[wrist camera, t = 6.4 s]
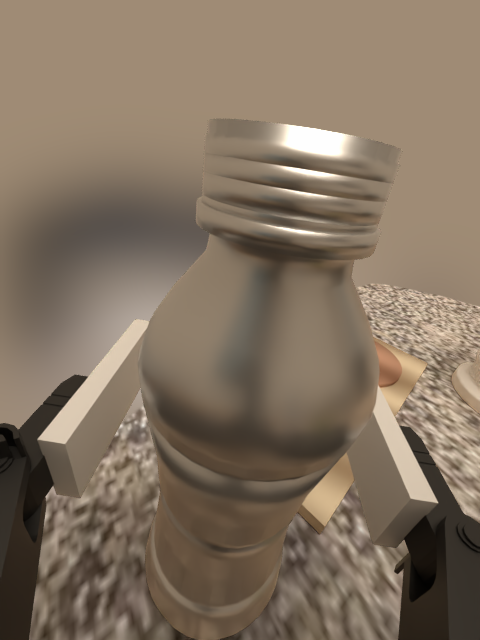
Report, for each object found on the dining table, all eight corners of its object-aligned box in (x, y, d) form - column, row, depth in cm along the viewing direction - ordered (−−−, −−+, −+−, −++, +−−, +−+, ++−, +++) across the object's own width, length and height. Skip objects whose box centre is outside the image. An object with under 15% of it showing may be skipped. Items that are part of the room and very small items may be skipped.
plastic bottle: (156, 505, 18) (147, 121, 8) (260, 500, 19) (373, 160, 9) (134, 665, 12) (-2, 42, 2) (283, 645, 13) (663, 177, 3)
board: (331, 323, 42) (335, 314, 41) (424, 369, 35) (430, 359, 34) (192, 407, 25) (193, 394, 24) (320, 534, 17) (327, 521, 17)
